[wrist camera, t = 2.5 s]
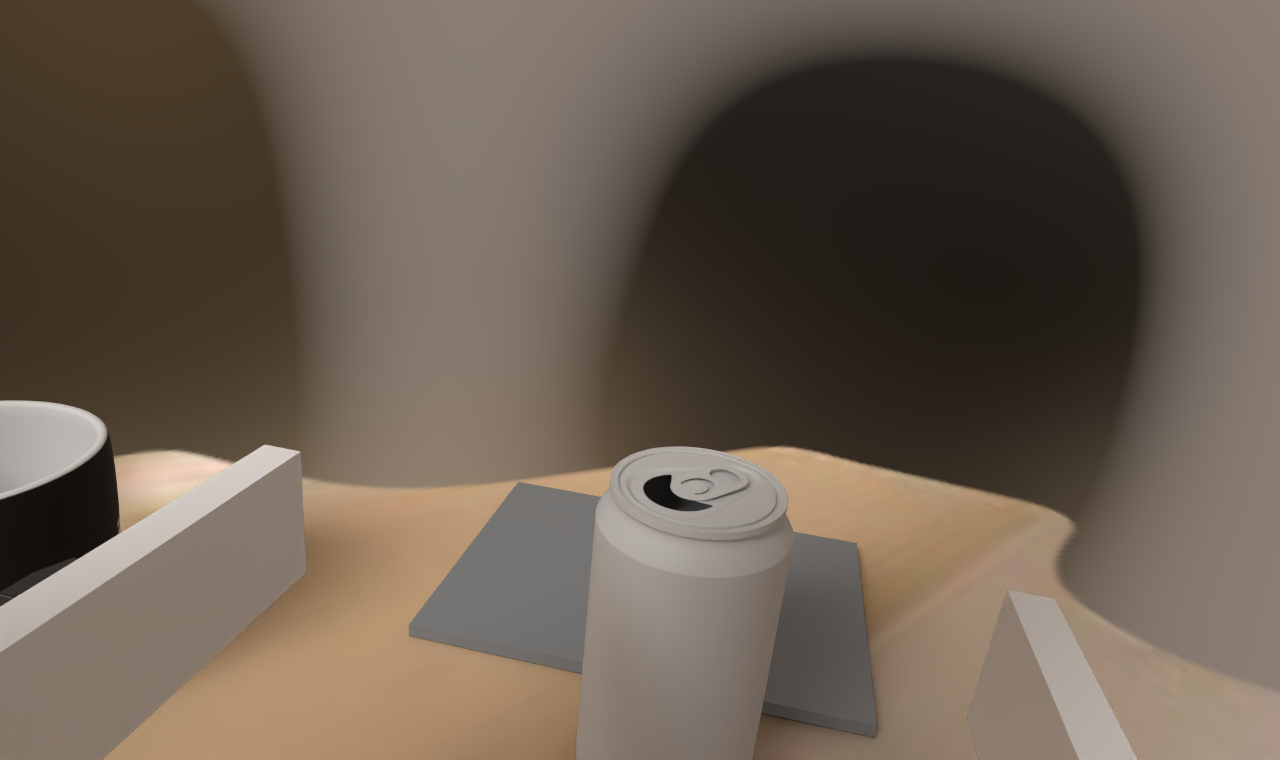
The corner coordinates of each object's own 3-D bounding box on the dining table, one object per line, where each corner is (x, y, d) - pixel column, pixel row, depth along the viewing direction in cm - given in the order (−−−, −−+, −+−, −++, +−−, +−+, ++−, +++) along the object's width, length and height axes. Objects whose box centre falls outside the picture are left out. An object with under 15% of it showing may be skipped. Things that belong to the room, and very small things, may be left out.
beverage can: (543, 743, 30) (561, 457, 25) (679, 686, 33) (714, 427, 29) (635, 883, 25) (676, 558, 21) (784, 799, 28) (844, 506, 24)
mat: (854, 552, 44) (856, 543, 44) (874, 737, 31) (877, 726, 31) (518, 490, 47) (518, 481, 47) (409, 636, 34) (409, 624, 34)
